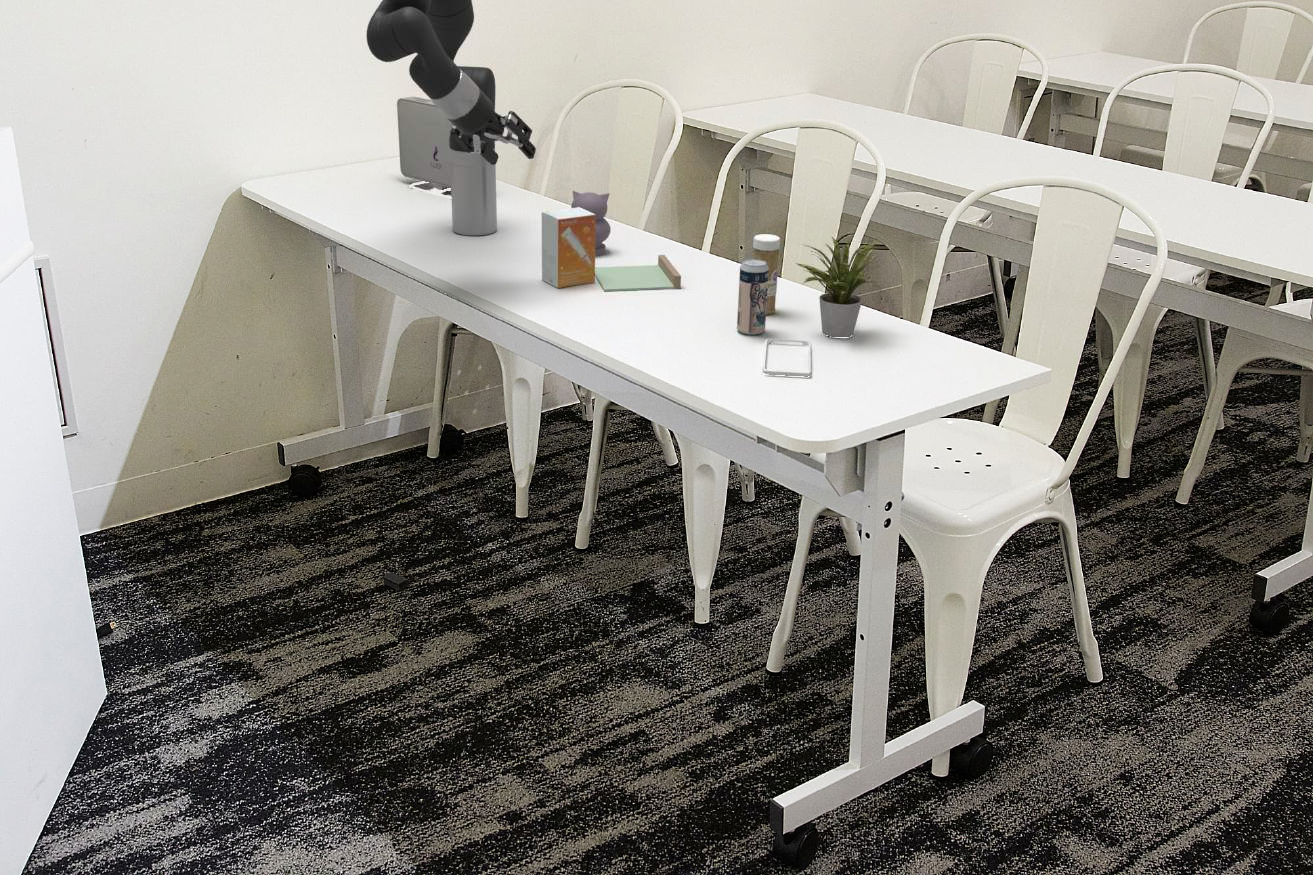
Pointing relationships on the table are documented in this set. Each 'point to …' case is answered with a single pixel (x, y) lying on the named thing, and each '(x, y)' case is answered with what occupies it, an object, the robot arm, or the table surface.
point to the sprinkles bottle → (768, 264)
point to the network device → (424, 142)
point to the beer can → (752, 296)
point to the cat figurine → (598, 207)
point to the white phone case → (787, 373)
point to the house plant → (840, 290)
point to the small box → (568, 247)
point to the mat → (639, 277)
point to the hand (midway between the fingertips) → (514, 158)
